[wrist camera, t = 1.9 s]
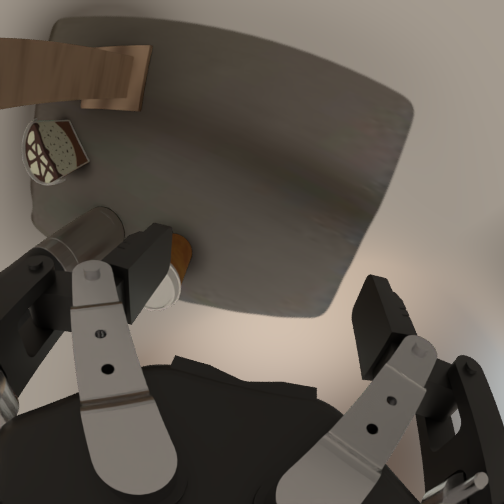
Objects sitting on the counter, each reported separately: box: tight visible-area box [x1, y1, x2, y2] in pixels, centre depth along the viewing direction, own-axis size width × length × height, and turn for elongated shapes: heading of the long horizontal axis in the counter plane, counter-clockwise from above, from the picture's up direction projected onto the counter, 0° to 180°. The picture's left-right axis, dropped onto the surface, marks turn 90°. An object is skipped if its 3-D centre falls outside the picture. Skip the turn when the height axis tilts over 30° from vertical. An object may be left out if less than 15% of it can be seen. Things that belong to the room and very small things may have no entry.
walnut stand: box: [0, 38, 153, 111], centre depth 22 cm, size 12×11×38 cm
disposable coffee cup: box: [143, 234, 192, 311], centre depth 46 cm, size 10×10×12 cm
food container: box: [22, 118, 90, 185], centre depth 41 cm, size 12×6×10 cm, turn 26°
